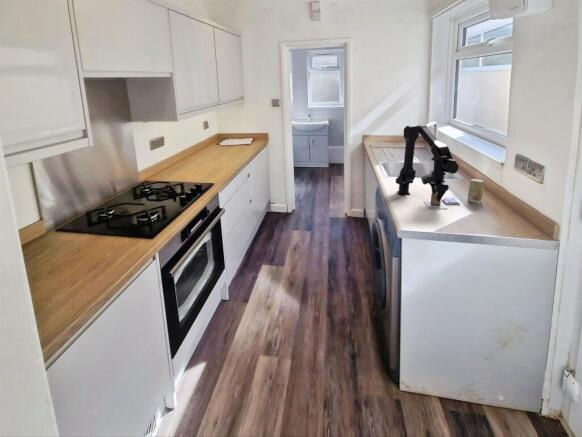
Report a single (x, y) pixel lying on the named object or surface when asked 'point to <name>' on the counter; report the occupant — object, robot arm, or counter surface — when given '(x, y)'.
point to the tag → (435, 206)
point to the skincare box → (475, 190)
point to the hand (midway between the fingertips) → (436, 198)
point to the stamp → (434, 200)
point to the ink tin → (450, 201)
